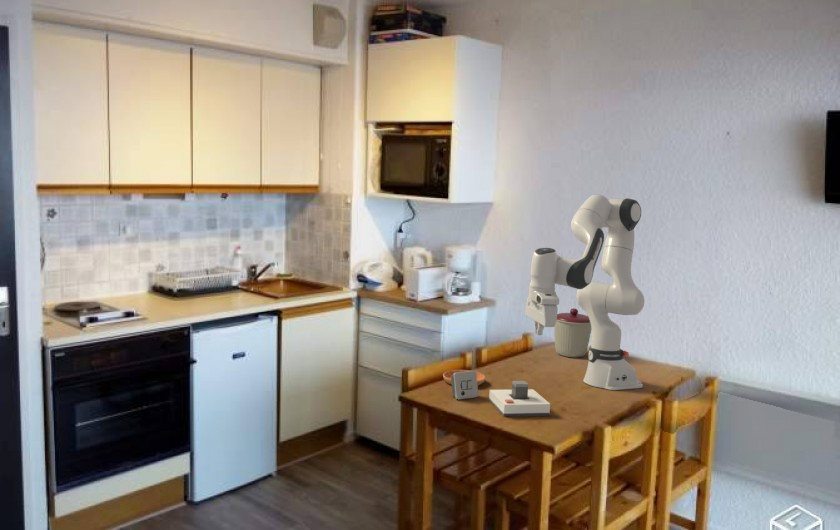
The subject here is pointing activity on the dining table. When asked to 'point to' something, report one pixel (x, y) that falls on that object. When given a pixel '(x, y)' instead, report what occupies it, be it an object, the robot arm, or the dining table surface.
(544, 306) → the robot arm
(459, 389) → the electrical switch
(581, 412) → the dining table surface
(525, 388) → the grey upright block
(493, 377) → the dining table surface
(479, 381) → the saucer
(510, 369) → the dining table surface
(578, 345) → the canister
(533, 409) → the socket
